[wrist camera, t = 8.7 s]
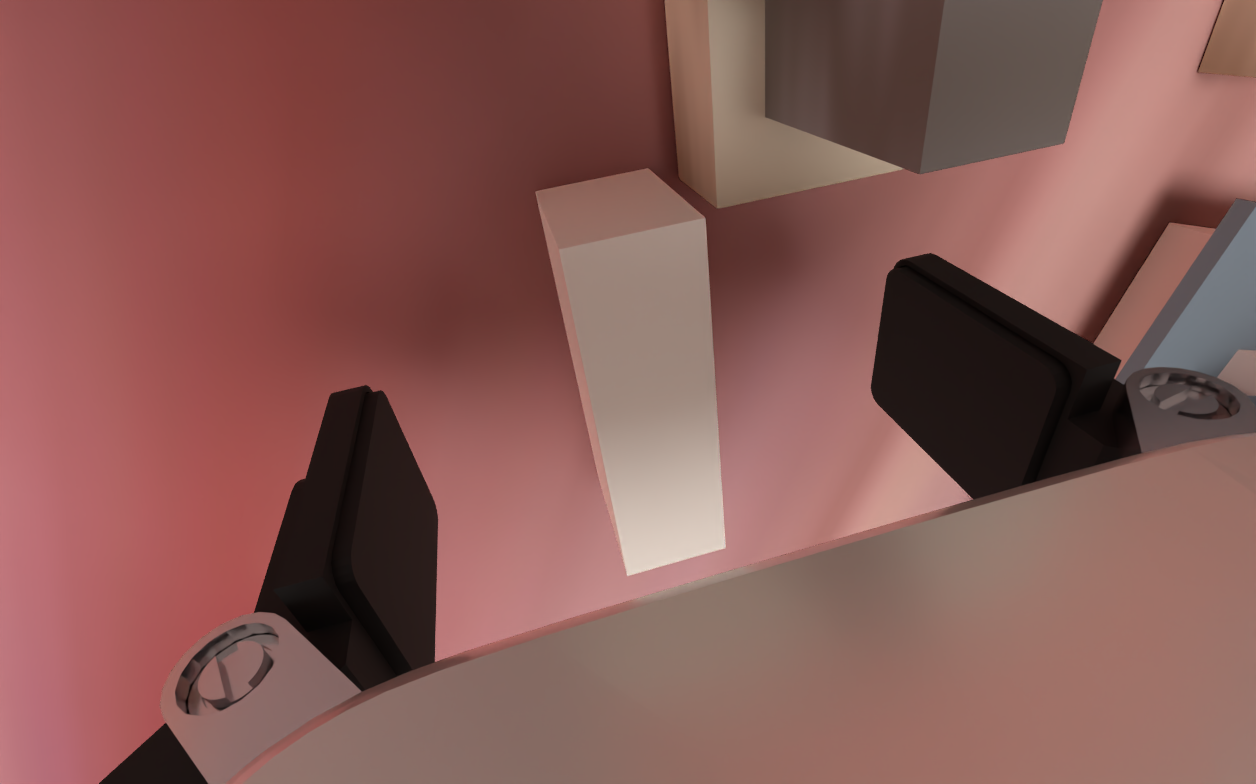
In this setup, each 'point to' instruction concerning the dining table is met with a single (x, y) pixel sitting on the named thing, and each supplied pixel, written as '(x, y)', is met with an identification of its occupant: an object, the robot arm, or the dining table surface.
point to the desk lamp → (1193, 304)
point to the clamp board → (786, 149)
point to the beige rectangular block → (642, 358)
